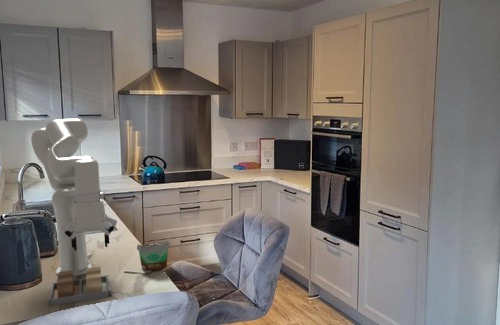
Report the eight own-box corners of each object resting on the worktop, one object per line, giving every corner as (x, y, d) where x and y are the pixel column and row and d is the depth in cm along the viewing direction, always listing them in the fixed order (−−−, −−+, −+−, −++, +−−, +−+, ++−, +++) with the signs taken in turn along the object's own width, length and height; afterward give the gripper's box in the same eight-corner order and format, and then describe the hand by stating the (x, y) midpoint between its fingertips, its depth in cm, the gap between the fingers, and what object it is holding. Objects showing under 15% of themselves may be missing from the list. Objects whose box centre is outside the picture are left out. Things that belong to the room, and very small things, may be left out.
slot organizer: (52, 288, 153) (51, 283, 153) (108, 280, 159) (108, 275, 159) (48, 306, 140) (48, 300, 139) (110, 296, 146) (110, 290, 145)
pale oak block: (87, 285, 155) (86, 268, 154) (101, 283, 156) (100, 266, 156) (87, 296, 146) (85, 278, 145) (101, 294, 147) (100, 276, 146)
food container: (140, 275, 164) (139, 248, 163) (137, 269, 170) (136, 243, 168) (174, 269, 169) (172, 243, 167) (170, 264, 174) (169, 239, 173)
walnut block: (59, 289, 152) (58, 272, 151) (74, 287, 153) (72, 270, 153) (58, 301, 143) (56, 282, 142) (73, 298, 144) (72, 280, 143)
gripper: (114, 192, 153) (117, 241, 156) (59, 196, 148) (63, 247, 150) (116, 197, 146) (118, 248, 149) (58, 202, 141) (62, 254, 143)
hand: (91, 247), depth 150 cm, fingers open, 9 cm apart
